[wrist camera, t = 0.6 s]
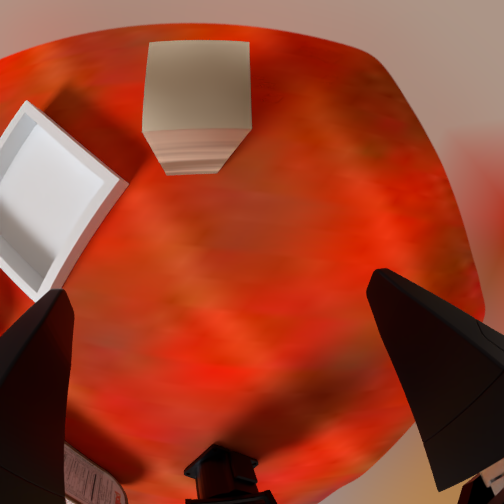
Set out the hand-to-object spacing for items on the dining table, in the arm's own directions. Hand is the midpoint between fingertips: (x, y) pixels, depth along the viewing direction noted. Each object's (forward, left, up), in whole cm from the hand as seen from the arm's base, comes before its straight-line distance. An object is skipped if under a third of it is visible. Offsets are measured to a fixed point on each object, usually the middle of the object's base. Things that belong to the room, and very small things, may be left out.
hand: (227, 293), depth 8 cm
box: (-6, +13, -16) cm, 21 cm away
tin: (-30, -3, -16) cm, 34 cm away
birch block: (+5, +5, -16) cm, 18 cm away
